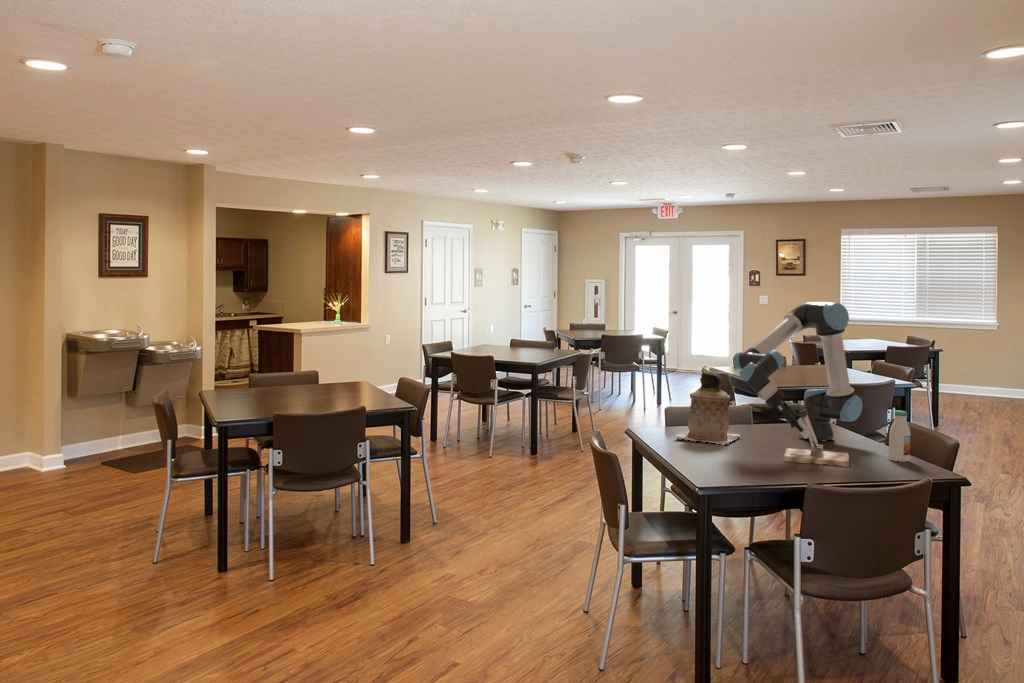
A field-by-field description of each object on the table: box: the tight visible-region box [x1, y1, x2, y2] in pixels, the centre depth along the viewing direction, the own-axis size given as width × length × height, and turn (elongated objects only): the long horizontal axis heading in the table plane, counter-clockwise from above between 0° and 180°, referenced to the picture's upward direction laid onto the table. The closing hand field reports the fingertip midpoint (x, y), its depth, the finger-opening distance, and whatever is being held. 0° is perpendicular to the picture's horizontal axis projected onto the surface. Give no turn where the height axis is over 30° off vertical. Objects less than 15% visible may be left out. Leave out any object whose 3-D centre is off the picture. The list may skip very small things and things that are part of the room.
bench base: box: [783, 444, 850, 468], centre depth 327 cm, size 24×18×6 cm
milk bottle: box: [887, 410, 911, 463], centre depth 327 cm, size 8×8×20 cm
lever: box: [797, 408, 820, 447], centre depth 327 cm, size 3×3×18 cm
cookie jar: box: [674, 369, 740, 445], centre depth 368 cm, size 25×25×32 cm
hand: (809, 434), depth 327 cm, fingers open, 13 cm apart
